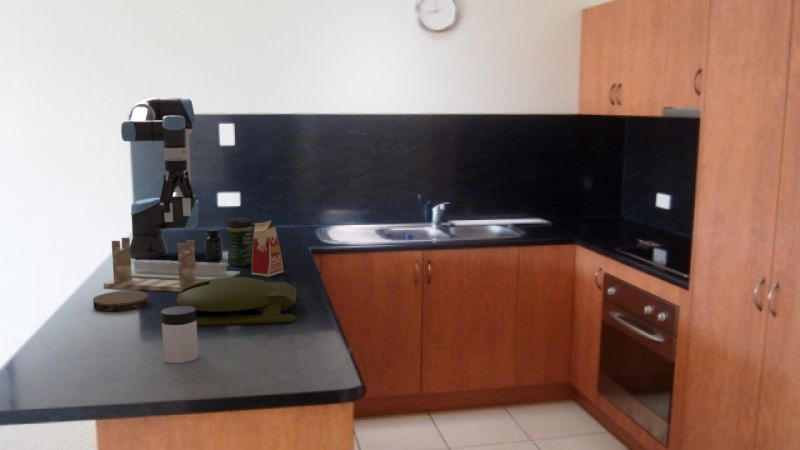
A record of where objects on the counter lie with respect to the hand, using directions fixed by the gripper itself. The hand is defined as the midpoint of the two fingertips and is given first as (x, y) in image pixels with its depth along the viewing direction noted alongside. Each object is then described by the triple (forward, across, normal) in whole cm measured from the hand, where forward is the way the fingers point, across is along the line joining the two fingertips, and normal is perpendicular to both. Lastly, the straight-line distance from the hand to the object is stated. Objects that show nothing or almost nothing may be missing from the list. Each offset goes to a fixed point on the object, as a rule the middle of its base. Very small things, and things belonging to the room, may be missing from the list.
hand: (178, 218), depth 265 cm
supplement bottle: (+22, +29, +1) cm, 36 cm away
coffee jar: (+21, +21, -14) cm, 33 cm away
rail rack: (+21, -19, 0) cm, 28 cm away
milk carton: (+21, +9, -29) cm, 37 cm away
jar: (+20, -84, -43) cm, 96 cm away
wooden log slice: (+21, -43, -2) cm, 47 cm away
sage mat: (+21, -1, 0) cm, 21 cm away
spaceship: (+21, -41, -40) cm, 61 cm away
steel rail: (+20, 0, 0) cm, 20 cm away
